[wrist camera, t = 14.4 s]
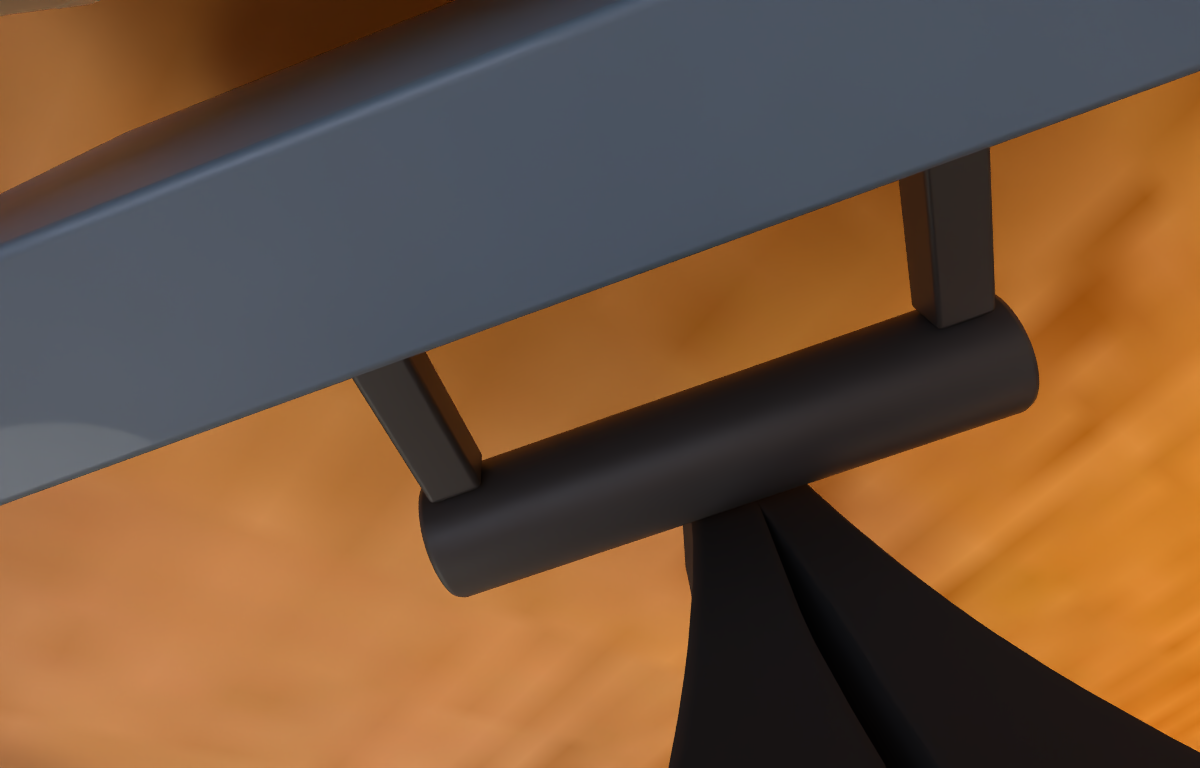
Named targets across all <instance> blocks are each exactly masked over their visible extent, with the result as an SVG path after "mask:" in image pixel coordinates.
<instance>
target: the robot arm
mask: <svg viewBox="0 0 1200 768" xmlns="http://www.w3.org/2000/svg"><path fill="white" fill-rule="evenodd" d="M683 534H684V549H685V565H686V571H687V575H688V580H689V585H690V590H691V596H692V602H691V615H690V627H689V640H688V650H687V658H686V666H685V674H684V681H683V688H682V695H681V701H680V708H679V714H678V720H677V726H676V731H675V737H674V742H673V747H672V752H671V758H670V763H669V768H1200V752H1198V751H1196V750H1194V749H1192V748H1190V747H1188V746H1186V745H1184V744H1183V743H1181V742H1179V741H1177V740H1175V739H1173V738H1171V737H1169V736H1168V735H1166V734H1164V733H1162V732H1160V731H1159V730H1157V729H1155V728H1153V727H1151V726H1150V725H1148V724H1146V723H1144V722H1142V721H1141V720H1139V719H1137V718H1135V717H1134V716H1132V715H1130V714H1128V713H1126V712H1125V711H1123V710H1121V709H1119V708H1117V707H1116V706H1114V705H1112V704H1110V703H1109V702H1107V701H1105V700H1103V699H1101V698H1100V697H1098V696H1096V695H1094V694H1092V693H1091V692H1089V691H1087V690H1085V689H1084V688H1082V687H1080V686H1079V685H1077V684H1075V683H1074V682H1072V681H1070V680H1069V679H1067V678H1065V677H1064V676H1062V675H1060V674H1059V673H1057V672H1055V671H1054V670H1052V669H1050V668H1049V667H1047V666H1045V665H1044V664H1042V663H1041V662H1039V661H1038V660H1036V659H1035V658H1033V657H1031V656H1030V655H1028V654H1027V653H1025V652H1024V651H1022V650H1021V649H1019V648H1017V647H1016V646H1014V645H1013V644H1011V643H1010V642H1008V641H1007V640H1005V639H1004V638H1002V637H1000V636H999V635H997V634H996V633H994V632H993V631H991V630H990V629H988V628H987V627H985V626H984V625H983V624H981V623H980V622H978V621H977V620H975V619H974V618H972V617H971V616H970V615H968V614H967V613H965V612H964V611H963V610H961V609H960V608H958V607H957V606H956V605H954V604H953V603H951V602H950V601H949V600H947V599H946V598H945V597H943V596H942V595H941V594H939V593H938V592H937V591H935V590H934V589H933V588H931V587H930V586H929V585H927V584H926V583H925V582H923V581H922V580H921V579H919V578H918V577H917V576H915V575H914V574H913V573H912V572H910V571H909V570H908V569H906V568H905V567H904V566H903V565H901V564H900V563H899V562H897V561H896V560H895V559H894V558H893V557H891V556H890V555H889V554H888V553H886V552H885V551H884V550H883V549H882V548H880V547H879V546H878V545H877V544H876V543H874V542H873V541H872V540H871V539H869V538H868V537H867V536H866V535H865V534H863V533H862V532H861V531H860V530H859V529H857V528H856V527H855V526H854V525H853V524H851V523H850V522H849V521H848V520H847V519H846V518H845V517H843V516H842V515H841V514H840V513H839V512H838V511H837V510H835V509H834V508H833V507H832V506H831V505H830V504H829V503H828V502H826V501H825V500H824V499H823V498H822V497H821V496H820V495H819V494H817V493H816V492H815V491H814V490H813V489H812V488H811V487H810V486H809V485H808V484H805V485H802V486H799V487H796V488H793V489H790V490H787V491H784V492H781V493H778V494H775V495H772V496H769V497H766V498H763V499H760V500H757V501H754V502H751V503H748V504H745V505H742V506H739V507H736V508H733V509H730V510H727V511H724V512H721V513H718V514H715V515H712V516H709V517H706V518H703V519H700V520H697V521H694V522H691V523H688V524H685V525H683Z"/></svg>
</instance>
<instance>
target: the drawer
mask: <svg viewBox="0 0 1200 768" xmlns="http://www.w3.org/2000/svg"><path fill="white" fill-rule="evenodd" d="M98 1H100V0H0V16H3V15H10V14H17V13H25V12H32V11H39V10H47V9H54V8H57V9H60V8H67V7H75V6H82V5H89V4H93V3H96V2H98ZM1198 71H1200V0H455V1H453V2H450V3H448V4H445V5H443V6H440V7H438V8H435V9H433V10H430V11H428V12H425V13H423V14H420V15H418V16H415V17H413V18H410V19H408V20H405V21H403V22H400V23H398V24H395V25H393V26H390V27H388V28H385V29H383V30H380V31H378V32H375V33H373V34H370V35H368V36H365V37H363V38H360V39H358V40H355V41H353V42H350V43H348V44H345V45H343V46H340V47H338V48H335V49H333V50H330V51H328V52H325V53H323V54H320V55H318V56H315V57H313V58H310V59H308V60H305V61H303V62H300V63H298V64H295V65H293V66H290V67H288V68H285V69H283V70H280V71H278V72H275V73H273V74H270V75H268V76H265V77H263V78H260V79H258V80H255V81H253V82H250V83H248V84H245V85H243V86H240V87H238V88H235V89H233V90H230V91H228V92H225V93H223V94H220V95H218V96H216V97H213V98H211V99H208V100H206V101H203V102H201V103H198V104H196V105H193V106H191V107H188V108H186V109H183V110H181V111H178V112H176V113H173V114H171V115H168V116H166V117H163V118H161V119H158V120H156V121H153V122H151V123H148V124H146V125H143V126H141V127H138V128H136V129H133V130H131V131H128V132H126V133H124V134H122V135H119V136H117V137H115V138H113V139H111V140H109V141H107V142H105V143H103V144H101V145H99V146H97V147H95V148H93V149H91V150H89V151H87V152H85V153H83V154H81V155H79V156H77V157H75V158H73V159H71V160H69V161H67V162H65V163H62V164H60V165H58V166H56V167H54V168H52V169H50V170H48V171H46V172H44V173H42V174H40V175H38V176H36V177H34V178H32V179H30V180H28V181H26V182H24V183H22V184H20V185H18V186H16V187H14V188H12V189H10V190H8V191H5V192H3V193H1V194H0V505H3V504H6V503H9V502H11V501H14V500H17V499H20V498H22V497H25V496H28V495H31V494H33V493H36V492H39V491H42V490H44V489H47V488H50V487H53V486H56V485H58V484H61V483H64V482H67V481H69V480H72V479H75V478H78V477H80V476H83V475H86V474H89V473H91V472H94V471H97V470H100V469H102V468H105V467H108V466H111V465H113V464H116V463H119V462H122V461H125V460H127V459H130V458H133V457H136V456H138V455H141V454H144V453H147V452H149V451H152V450H155V449H158V448H160V447H163V446H166V445H169V444H171V443H174V442H177V441H180V440H182V439H185V438H188V437H191V436H194V435H196V434H199V433H202V432H205V431H207V430H210V429H213V428H216V427H218V426H221V425H224V424H227V423H229V422H232V421H235V420H238V419H240V418H243V417H246V416H249V415H252V414H254V413H257V412H260V411H263V410H265V409H268V408H271V407H274V406H276V405H279V404H282V403H285V402H287V401H290V400H293V399H296V398H298V397H301V396H304V395H307V394H309V393H312V392H315V391H318V390H321V389H323V388H326V387H329V386H332V385H334V384H337V383H340V382H343V381H345V380H348V379H351V378H352V379H353V380H354V382H355V384H356V385H357V387H358V388H359V390H360V391H361V393H362V395H363V396H364V398H365V399H366V401H367V403H368V404H369V406H370V407H371V409H372V410H373V412H374V414H375V415H376V417H377V418H378V420H379V422H380V423H381V425H382V426H383V428H384V430H385V431H386V433H387V434H388V436H389V437H390V439H391V441H392V442H393V444H394V445H395V447H396V449H397V450H398V452H399V453H400V455H401V456H402V458H403V460H404V461H405V463H406V464H407V466H408V468H409V469H410V471H411V472H412V474H413V476H414V477H415V479H416V480H417V482H418V483H419V485H420V487H421V491H420V495H419V520H420V527H421V532H422V537H423V541H424V544H425V548H426V551H427V554H428V556H429V559H430V561H431V563H432V566H433V568H434V570H435V572H436V574H437V576H438V577H439V579H440V581H441V582H442V584H443V585H444V586H445V588H446V589H447V590H448V591H449V592H450V593H452V594H453V595H455V596H458V597H469V596H472V595H475V594H478V593H481V592H484V591H487V590H490V589H493V588H496V587H499V586H502V585H505V584H508V583H511V582H514V581H517V580H520V579H523V578H526V577H529V576H532V575H535V574H538V573H541V572H544V571H547V570H550V569H553V568H556V567H559V566H562V565H565V564H568V563H571V562H574V561H577V560H580V559H583V558H586V557H589V556H592V555H595V554H598V553H601V552H604V551H607V550H610V549H613V548H616V547H619V546H622V545H625V544H628V543H631V542H634V541H637V540H640V539H643V538H646V537H649V536H652V535H655V534H658V533H661V532H664V531H667V530H670V529H673V528H676V527H679V526H682V525H685V524H688V523H691V522H694V521H697V520H700V519H703V518H706V517H709V516H712V515H715V514H718V513H721V512H724V511H727V510H730V509H733V508H736V507H739V506H742V505H745V504H748V503H751V502H754V501H757V500H760V499H763V498H766V497H769V496H772V495H775V494H778V493H781V492H784V491H787V490H790V489H793V488H796V487H799V486H802V485H805V484H808V483H811V482H814V481H817V480H820V479H823V478H826V477H829V476H832V475H835V474H838V473H841V472H844V471H847V470H850V469H853V468H856V467H859V466H862V465H865V464H868V463H871V462H874V461H877V460H880V459H883V458H886V457H889V456H892V455H895V454H898V453H901V452H904V451H907V450H910V449H913V448H916V447H919V446H922V445H925V444H928V443H931V442H934V441H937V440H940V439H943V438H946V437H949V436H952V435H955V434H958V433H961V432H964V431H967V430H970V429H973V428H976V427H979V426H982V425H985V424H988V423H991V422H994V421H997V420H1000V419H1003V418H1006V417H1009V416H1012V415H1015V414H1018V413H1021V412H1023V411H1025V410H1027V409H1028V408H1029V407H1030V406H1031V405H1032V404H1033V403H1034V401H1035V400H1036V398H1037V395H1038V390H1039V372H1038V365H1037V361H1036V357H1035V353H1034V350H1033V347H1032V345H1031V342H1030V340H1029V337H1028V335H1027V333H1026V331H1025V329H1024V327H1023V325H1022V324H1021V322H1020V321H1019V319H1018V317H1017V316H1016V315H1015V313H1014V312H1013V311H1012V309H1011V308H1010V307H1009V306H1008V305H1007V304H1006V303H1005V302H1004V301H1003V300H1002V299H1001V298H1000V297H998V296H997V295H995V281H994V253H993V225H992V197H991V169H990V147H991V146H994V145H997V144H1000V143H1002V142H1005V141H1008V140H1011V139H1013V138H1016V137H1019V136H1022V135H1024V134H1027V133H1030V132H1033V131H1036V130H1038V129H1041V128H1044V127H1047V126H1049V125H1052V124H1055V123H1058V122H1060V121H1063V120H1066V119H1069V118H1071V117H1074V116H1077V115H1080V114H1082V113H1085V112H1088V111H1091V110H1093V109H1096V108H1099V107H1102V106H1105V105H1107V104H1110V103H1113V102H1116V101H1118V100H1121V99H1124V98H1127V97H1129V96H1132V95H1135V94H1138V93H1140V92H1143V91H1146V90H1149V89H1151V88H1154V87H1157V86H1160V85H1162V84H1165V83H1168V82H1171V81H1174V80H1176V79H1179V78H1182V77H1185V76H1187V75H1190V74H1193V73H1196V72H1198ZM897 180H899V187H900V197H901V206H902V215H903V225H904V234H905V243H906V252H907V262H908V271H909V280H910V290H911V299H912V305H913V307H914V308H915V309H916V310H914V311H911V312H908V313H905V314H902V315H899V316H897V317H894V318H891V319H888V320H885V321H882V322H879V323H876V324H874V325H871V326H868V327H865V328H862V329H859V330H856V331H853V332H851V333H848V334H845V335H842V336H839V337H836V338H833V339H830V340H828V341H825V342H822V343H819V344H816V345H813V346H810V347H807V348H805V349H802V350H799V351H796V352H793V353H790V354H787V355H784V356H781V357H779V358H776V359H773V360H770V361H767V362H764V363H761V364H758V365H756V366H753V367H750V368H747V369H744V370H741V371H738V372H735V373H733V374H730V375H727V376H724V377H721V378H718V379H715V380H712V381H710V382H707V383H704V384H701V385H698V386H695V387H692V388H689V389H687V390H684V391H681V392H678V393H675V394H672V395H669V396H666V397H664V398H661V399H658V400H655V401H652V402H649V403H646V404H643V405H641V406H638V407H635V408H632V409H629V410H626V411H623V412H620V413H618V414H615V415H612V416H609V417H606V418H603V419H600V420H597V421H595V422H592V423H589V424H586V425H583V426H580V427H577V428H574V429H572V430H569V431H566V432H563V433H560V434H557V435H554V436H551V437H549V438H546V439H543V440H540V441H537V442H534V443H531V444H528V445H526V446H523V447H520V448H517V449H514V450H511V451H508V452H505V453H503V454H500V455H497V456H494V457H491V458H488V459H485V460H482V454H481V452H480V450H479V449H478V447H477V445H476V443H475V441H474V440H473V438H472V436H471V434H470V432H469V430H468V429H467V427H466V425H465V423H464V421H463V420H462V418H461V416H460V414H459V412H458V410H457V409H456V407H455V405H454V403H453V401H452V399H451V398H450V396H449V394H448V392H447V390H446V389H445V387H444V385H443V383H442V381H441V379H440V378H439V376H438V374H437V372H436V370H435V369H434V367H433V365H432V363H431V361H430V359H429V358H428V356H427V354H426V352H425V351H428V350H431V349H434V348H436V347H439V346H442V345H445V344H448V343H450V342H453V341H456V340H459V339H461V338H464V337H467V336H470V335H472V334H475V333H478V332H481V331H483V330H486V329H489V328H492V327H494V326H497V325H500V324H503V323H505V322H508V321H511V320H514V319H517V318H519V317H522V316H525V315H528V314H530V313H533V312H536V311H539V310H541V309H544V308H547V307H550V306H552V305H555V304H558V303H561V302H563V301H566V300H569V299H572V298H574V297H577V296H580V295H583V294H586V293H588V292H591V291H594V290H597V289H599V288H602V287H605V286H608V285H610V284H613V283H616V282H619V281H621V280H624V279H627V278H630V277H632V276H635V275H638V274H641V273H644V272H646V271H649V270H652V269H655V268H657V267H660V266H663V265H666V264H668V263H671V262H674V261H677V260H679V259H682V258H685V257H688V256H690V255H693V254H696V253H699V252H701V251H704V250H707V249H710V248H713V247H715V246H718V245H721V244H724V243H726V242H729V241H732V240H735V239H737V238H740V237H743V236H746V235H748V234H751V233H754V232H757V231H759V230H762V229H765V228H768V227H770V226H773V225H776V224H779V223H782V222H784V221H787V220H790V219H793V218H795V217H798V216H801V215H804V214H806V213H809V212H812V211H815V210H817V209H820V208H823V207H826V206H828V205H831V204H834V203H837V202H840V201H842V200H845V199H848V198H851V197H853V196H856V195H859V194H862V193H864V192H867V191H870V190H873V189H875V188H878V187H881V186H884V185H886V184H889V183H892V182H895V181H897Z"/></svg>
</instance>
